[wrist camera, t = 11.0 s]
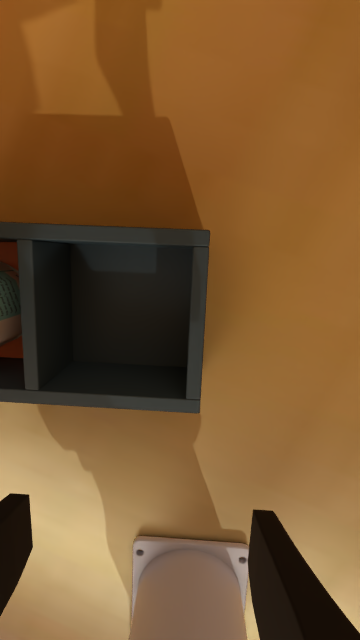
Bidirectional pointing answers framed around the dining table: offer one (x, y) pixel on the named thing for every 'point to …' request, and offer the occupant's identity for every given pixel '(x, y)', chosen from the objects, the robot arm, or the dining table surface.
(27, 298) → the organizer
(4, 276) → the beer can
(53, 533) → the dining table surface
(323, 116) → the dining table surface
